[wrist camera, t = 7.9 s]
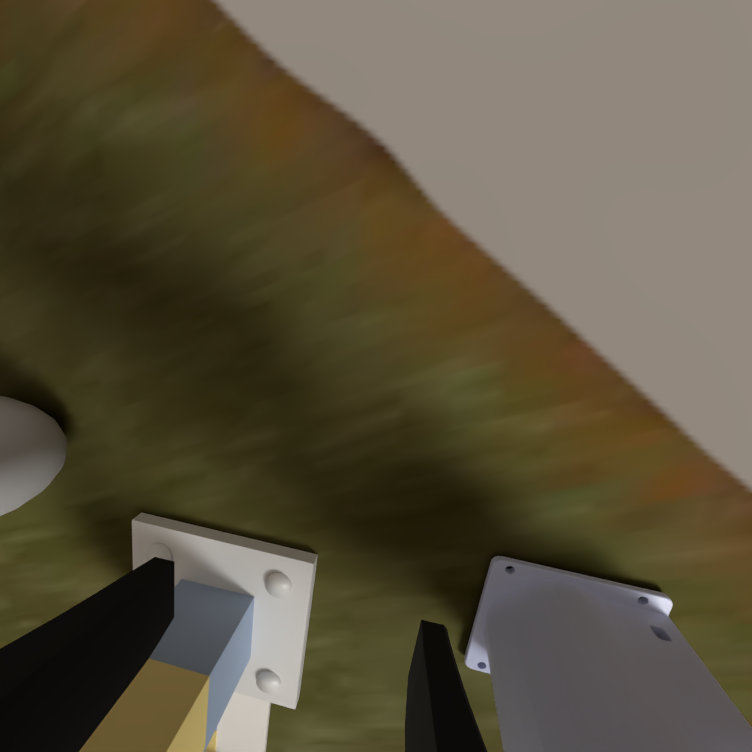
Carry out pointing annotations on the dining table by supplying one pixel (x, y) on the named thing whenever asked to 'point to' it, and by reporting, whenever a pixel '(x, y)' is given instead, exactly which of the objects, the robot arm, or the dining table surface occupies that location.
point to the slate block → (209, 640)
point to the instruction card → (242, 726)
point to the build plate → (250, 577)
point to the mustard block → (156, 713)
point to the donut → (27, 452)
